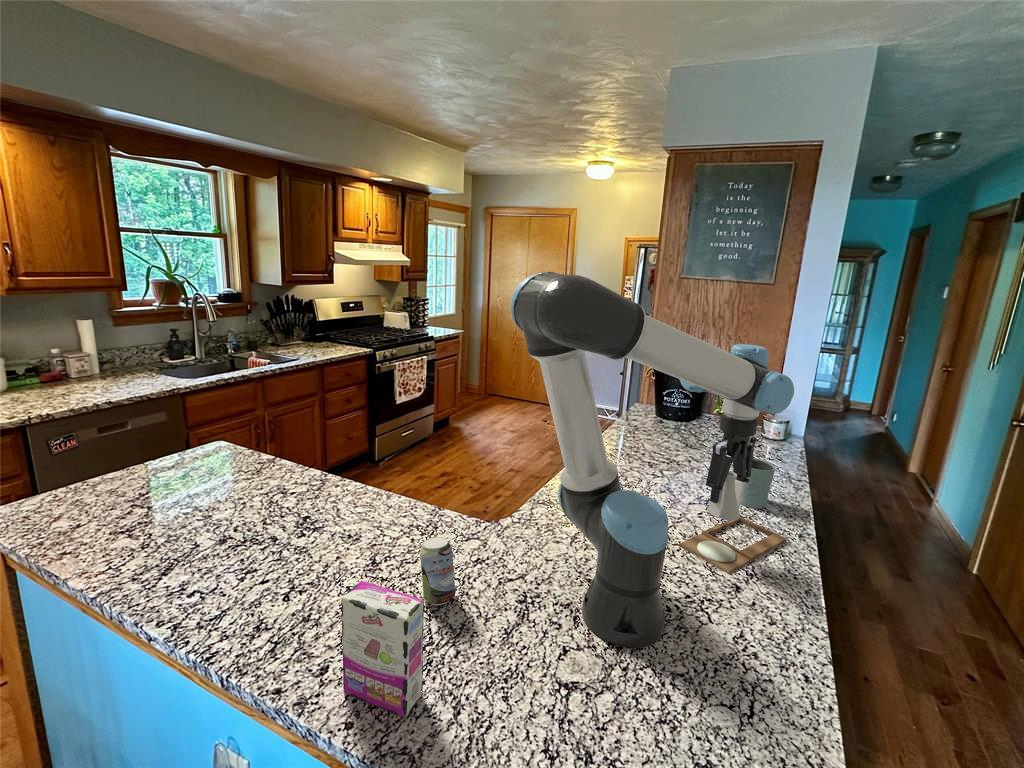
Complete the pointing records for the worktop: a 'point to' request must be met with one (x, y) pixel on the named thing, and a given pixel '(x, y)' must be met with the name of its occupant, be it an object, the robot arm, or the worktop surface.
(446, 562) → the beverage can
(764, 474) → the green cup
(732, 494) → the flask
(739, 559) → the board
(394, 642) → the candy bar box
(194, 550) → the worktop surface
